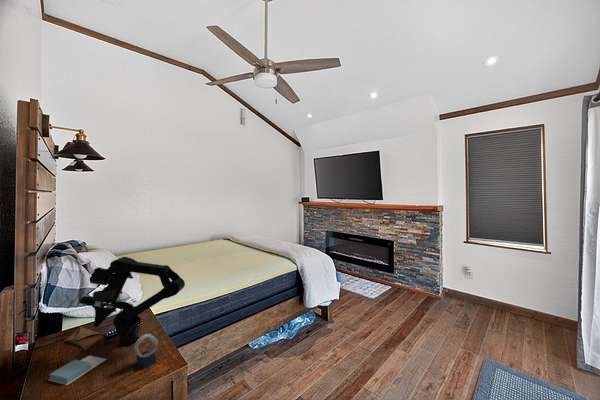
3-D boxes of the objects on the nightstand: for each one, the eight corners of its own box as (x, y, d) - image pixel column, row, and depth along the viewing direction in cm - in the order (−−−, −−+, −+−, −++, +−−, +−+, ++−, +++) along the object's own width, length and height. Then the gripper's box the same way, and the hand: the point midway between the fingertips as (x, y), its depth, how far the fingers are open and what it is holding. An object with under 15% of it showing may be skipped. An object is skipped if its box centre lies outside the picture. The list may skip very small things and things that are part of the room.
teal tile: (74, 359, 99) (50, 373, 91) (91, 363, 97) (67, 378, 89) (74, 364, 99) (50, 379, 91) (91, 368, 97) (67, 383, 89)
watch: (160, 360, 103) (160, 332, 102) (139, 371, 96) (138, 342, 96) (153, 355, 106) (152, 328, 105) (131, 366, 99) (131, 337, 99)
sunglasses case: (60, 341, 114) (69, 325, 117) (76, 342, 120) (84, 326, 123) (86, 351, 108) (95, 333, 110) (102, 351, 113) (110, 334, 116)
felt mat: (89, 356, 105) (89, 355, 105) (106, 359, 102) (106, 359, 102) (47, 380, 91) (47, 379, 91) (67, 385, 89) (67, 385, 89)
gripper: (82, 278, 105) (57, 320, 96) (128, 285, 105) (108, 327, 97) (97, 285, 114) (76, 324, 106) (139, 291, 115) (122, 330, 106)
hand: (95, 326), depth 103 cm, fingers closed
